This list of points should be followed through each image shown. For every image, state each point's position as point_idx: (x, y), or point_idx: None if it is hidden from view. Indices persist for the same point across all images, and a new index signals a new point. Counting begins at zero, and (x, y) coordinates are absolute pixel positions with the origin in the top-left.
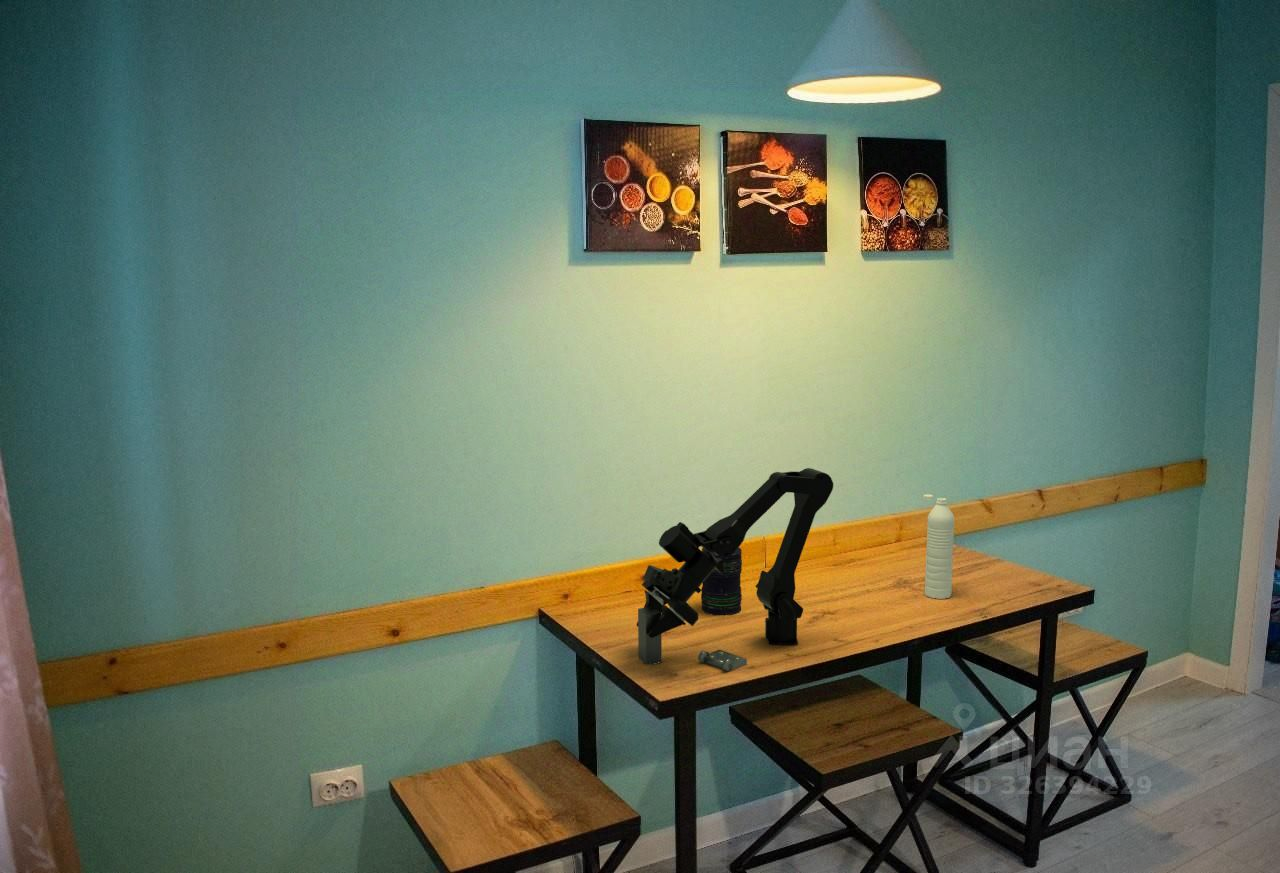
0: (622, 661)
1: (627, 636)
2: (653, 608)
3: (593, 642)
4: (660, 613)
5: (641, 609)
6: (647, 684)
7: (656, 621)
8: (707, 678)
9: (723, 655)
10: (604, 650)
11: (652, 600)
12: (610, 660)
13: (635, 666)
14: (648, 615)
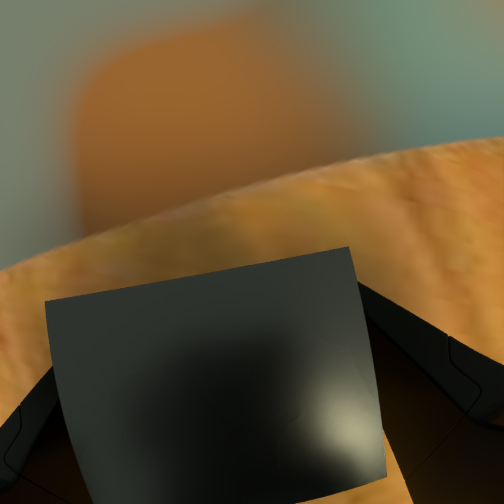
0: (252, 228)
1: (494, 290)
2: (308, 477)
3: (448, 165)
4: (95, 499)
5: (301, 292)
6: (26, 279)
7: (52, 408)
8: None
9: None
10: (381, 182)
11: (496, 472)
12: (273, 184)
13: (183, 272)
14: (52, 339)
